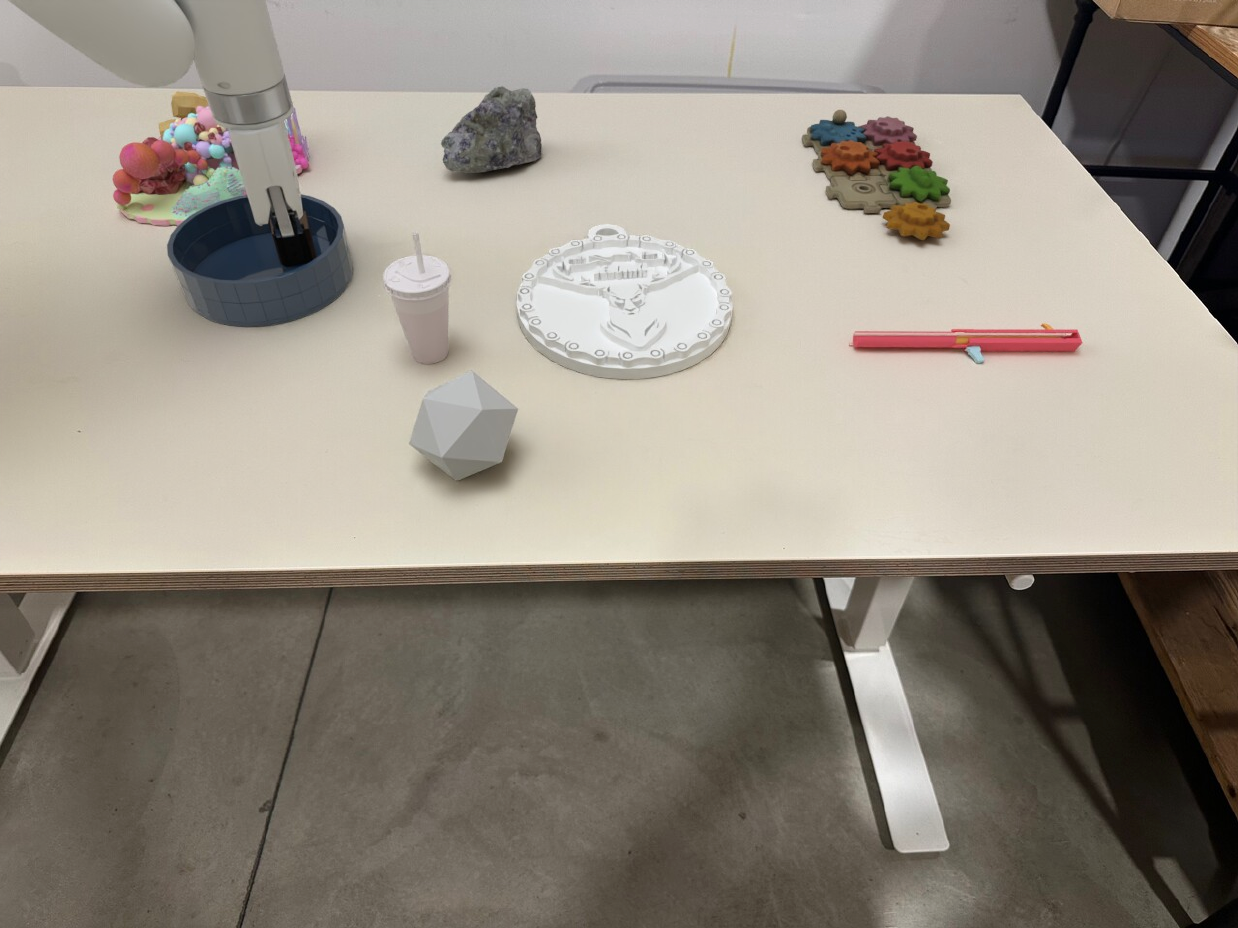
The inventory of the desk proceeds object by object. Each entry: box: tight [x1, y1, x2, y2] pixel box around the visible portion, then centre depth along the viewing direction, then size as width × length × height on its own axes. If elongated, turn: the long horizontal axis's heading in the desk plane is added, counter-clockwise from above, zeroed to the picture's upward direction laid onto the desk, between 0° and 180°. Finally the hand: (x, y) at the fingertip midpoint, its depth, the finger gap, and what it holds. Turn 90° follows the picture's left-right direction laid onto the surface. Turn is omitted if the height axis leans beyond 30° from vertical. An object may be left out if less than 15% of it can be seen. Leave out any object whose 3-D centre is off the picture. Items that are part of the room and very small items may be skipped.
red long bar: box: [848, 322, 1083, 364], centre depth 91 cm, size 24×2×5 cm
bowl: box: [166, 193, 354, 328], centre depth 95 cm, size 18×18×6 cm
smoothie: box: [382, 231, 452, 365], centre depth 84 cm, size 6×6×14 cm
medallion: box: [516, 223, 734, 380], centre depth 95 cm, size 24×27×2 cm
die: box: [408, 369, 519, 482], centre depth 76 cm, size 8×9×10 cm
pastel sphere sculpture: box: [112, 91, 311, 227], centre depth 110 cm, size 25×24×9 cm
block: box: [269, 211, 317, 265], centre depth 98 cm, size 4×4×4 cm
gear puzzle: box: [801, 109, 952, 241], centre depth 114 cm, size 31×16×4 cm, turn 4°
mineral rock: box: [440, 85, 543, 174], centre depth 113 cm, size 13×11×10 cm
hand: (298, 261), depth 96 cm, fingers closed
